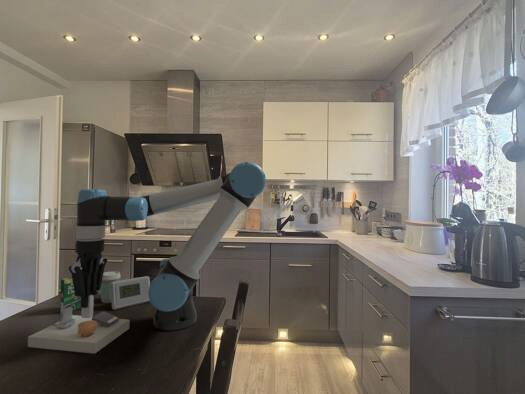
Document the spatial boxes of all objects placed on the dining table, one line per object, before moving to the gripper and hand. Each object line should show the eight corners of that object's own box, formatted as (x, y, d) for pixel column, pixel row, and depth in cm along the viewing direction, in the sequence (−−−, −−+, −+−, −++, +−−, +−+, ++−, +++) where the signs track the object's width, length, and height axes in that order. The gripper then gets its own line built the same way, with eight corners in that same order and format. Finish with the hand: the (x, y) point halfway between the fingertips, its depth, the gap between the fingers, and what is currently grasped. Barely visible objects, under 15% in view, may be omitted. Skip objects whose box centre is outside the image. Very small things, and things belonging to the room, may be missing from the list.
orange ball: (99, 337, 85) (100, 320, 85) (87, 345, 80) (88, 327, 80) (85, 335, 85) (86, 319, 85) (73, 343, 80) (73, 326, 81)
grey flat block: (118, 320, 93) (119, 317, 93) (108, 326, 88) (109, 323, 88) (102, 313, 93) (103, 310, 93) (91, 319, 88) (92, 316, 88)
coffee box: (62, 314, 104) (63, 279, 105) (59, 312, 106) (60, 278, 106) (85, 307, 111) (86, 275, 112) (81, 306, 113) (82, 274, 113)
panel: (129, 328, 94) (129, 318, 94) (94, 353, 78) (95, 341, 78) (72, 323, 96) (72, 313, 97) (27, 346, 81) (28, 334, 81)
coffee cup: (110, 305, 115) (111, 276, 115) (93, 303, 116) (94, 275, 117) (124, 298, 123) (125, 271, 123) (108, 296, 125) (109, 270, 125)
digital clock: (110, 311, 108) (111, 284, 108) (108, 304, 115) (109, 279, 116) (153, 304, 117) (154, 279, 117) (149, 298, 124) (149, 274, 125)
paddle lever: (75, 322, 90) (75, 307, 90) (64, 328, 86) (65, 311, 86) (67, 322, 90) (67, 306, 90) (56, 327, 86) (57, 311, 86)
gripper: (95, 236, 90) (92, 308, 90) (61, 241, 77) (57, 325, 77) (115, 237, 89) (112, 309, 89) (85, 242, 76) (81, 327, 76)
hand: (87, 316), depth 83 cm, fingers closed
